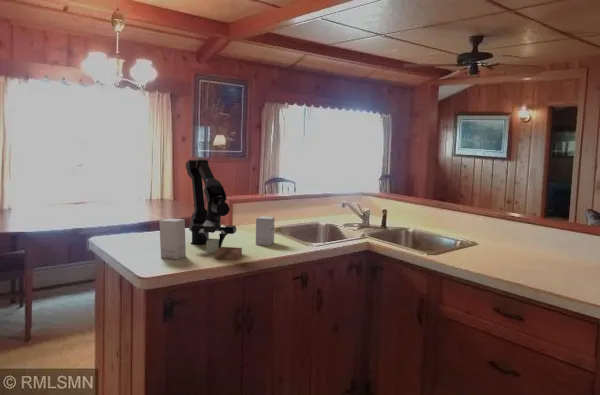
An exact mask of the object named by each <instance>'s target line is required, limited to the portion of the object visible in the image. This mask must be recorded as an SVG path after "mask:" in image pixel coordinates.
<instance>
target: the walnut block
mask: <svg viewBox="0 0 600 395" xmlns="http://www.w3.org/2000/svg"><path fill="white" fill-rule="evenodd" d="M242 255H243V250H242V247H236V246H235V247H232V246H231V247H229V246H221V247H220V248H219V249H218V250H216V251H215V253H214V260H221V261H222V260H223V261H224V260H225V261H237V260H238V259H239V258H240V257H241V256H242Z"/></svg>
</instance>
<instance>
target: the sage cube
mask: <svg viewBox="0 0 600 395" xmlns="http://www.w3.org/2000/svg"><path fill="white" fill-rule="evenodd" d="M219 239H220V238H210V237H209V239H208V240H207V241H206V244H205V247H206V249H205V251H206V252H205V253H213V254H215V251H216V250H218V249H219Z"/></svg>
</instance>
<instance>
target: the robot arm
mask: <svg viewBox="0 0 600 395" xmlns="http://www.w3.org/2000/svg"><path fill="white" fill-rule="evenodd" d="M185 170H186V171H187V175H188V177H189V178H190V179H191V185H192V196H193V206H194V210H193V212H192V214H191V220H190V222H189V223H188V224H189V225H188V229H189V231H190V232H191V242H190V245H203V246H204V245H206V241H207V240H208V239H210V235H209V233H211V234H213V233H215V232H220V233H219V238H218V239H219V248H220V247H223V246H222V245H223V242H224V240H225V239H226V236H227V235H228V234H229V235H233V234H235V233H236V232H237V226H236V225H232V224H227V225H225V226H222V223H221V222H222V221H221V218H222V217H226V216H227V215H228V214H229V213H230V208H231V207H230V206H229V204H228V203H227V202H226V201H227V193H226V191H225V189H224V186H223V185H222V183H221V182H220V181H219V180H218V179H216V178H215V176H214V173H213V172H212V169H211V167H210V166H209V160H207V159H203V158H202V159H189V160H187V161H186V163H185ZM203 183H204V187H203ZM204 197H206V207H207V208H206V207H205V198H204Z"/></svg>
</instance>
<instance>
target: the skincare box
mask: <svg viewBox="0 0 600 395" xmlns="http://www.w3.org/2000/svg"><path fill="white" fill-rule="evenodd" d="M185 223H186V220H185V219H184V218H170V217H169V218H165V219H161V220H159V240H160V241H159V242H160V247H159V248H160V258H162V259H170V260H171V259H172V260H180V259H182V258H184V257H186V256H187V251H186V247H187V246H186V224H185Z"/></svg>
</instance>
